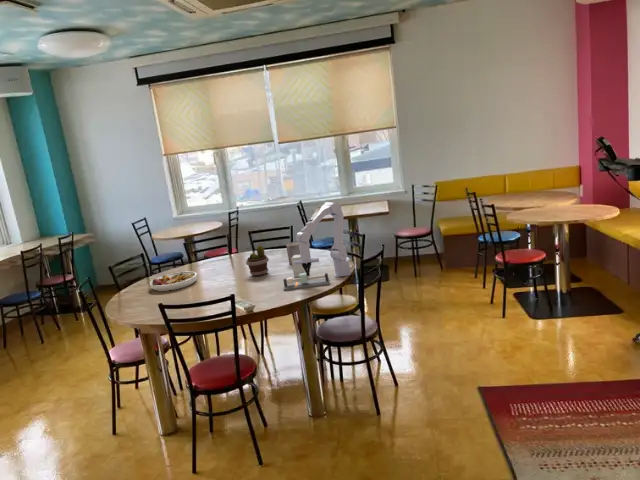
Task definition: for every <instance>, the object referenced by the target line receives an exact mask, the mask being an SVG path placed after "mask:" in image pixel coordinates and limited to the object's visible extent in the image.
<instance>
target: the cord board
mask: <svg viewBox="0 0 640 480" xmlns="http://www.w3.org/2000/svg"><path fill="white" fill-rule="evenodd" d="M307 280H308V282H306V283H300V277H296V278H294V276H293V277H292V276H291V277H287V278H283V292H284V291H285V292H286V291H292V290H300V289H308V288H315V287H323V286H330V278H329V274H328V272H325V273H324V274H320V275H313V276H307Z"/></svg>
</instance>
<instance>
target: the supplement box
mask: <svg viewBox="0 0 640 480" xmlns="http://www.w3.org/2000/svg"><path fill="white" fill-rule="evenodd" d="M298 260H301V257H300V255H294V256H293V257H292V258H291V261H292V265H291V266H292V273H293V274H292V275H293V279H297V278H300V277H299V274H300V273H306V271H305V270H304V268H303V267H302V264H299V265H294V263H293V262H294V261H298Z"/></svg>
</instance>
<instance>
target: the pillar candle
mask: <svg viewBox="0 0 640 480" xmlns="http://www.w3.org/2000/svg"><path fill="white" fill-rule="evenodd" d="M285 246H286V252H287V258H288V264H289V265H290V266H292V261H291V258H292V257H293V256H294V255H300V250H299V244H298V241H292V242H289V243H287V244H286V245H285Z"/></svg>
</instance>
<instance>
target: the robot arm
mask: <svg viewBox="0 0 640 480" xmlns="http://www.w3.org/2000/svg"><path fill="white" fill-rule="evenodd" d="M328 215H329V216H331V217H333V245H332V246H331V251H330V253H329V254H330V257H331V259H332V260H333V267H334V278H338V277H346V276H347V277H348V276H351V275H352V274H351V271H352V269H351V266H350V265H351V264H350V259H349V258H348V259H347V257H348V252H347V248H346V246H345V245H344V212H343V210H342V205H340V203H338V202H333V201H332V202H329V201H326V202H324V203H323V205H322V206H320V210H319V211H318V212H317V214H316V215H315V216H314V217H313V219H312V220H311V221H308V222H306V223H305V226H304V227H303V228H302V229H301V230H300V231H299V232H297V234H296V236H295V240H296V242H298V244H299V250H300V257H301V260H298V261H294V262H293V263H294V265H299V264H302V267H303V268H304V270H305V271H306V274H307V277H311V276H310V275H311V274H310V272H311V271H310V270H311V266H312V263H313V264H314V263H320V258H319V257H317V258H315V257H314V258H312V257H311V252H310V249H311V248H310V245H309V244H310V243H309V241H310V238H311V236H312V234H313V233H314V232H315V231H316V229H317V227H318V226H317V225H318V224H319V223H320V222H321V221H322V220H323V219H324V218H325V217H326V216H328Z"/></svg>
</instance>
